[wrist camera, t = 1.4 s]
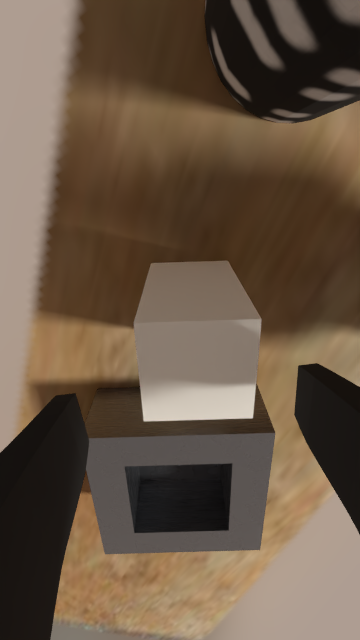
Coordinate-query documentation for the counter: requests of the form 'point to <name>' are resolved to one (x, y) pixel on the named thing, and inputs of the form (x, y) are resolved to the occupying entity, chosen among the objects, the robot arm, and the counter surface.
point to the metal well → (176, 477)
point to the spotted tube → (286, 55)
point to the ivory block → (196, 343)
